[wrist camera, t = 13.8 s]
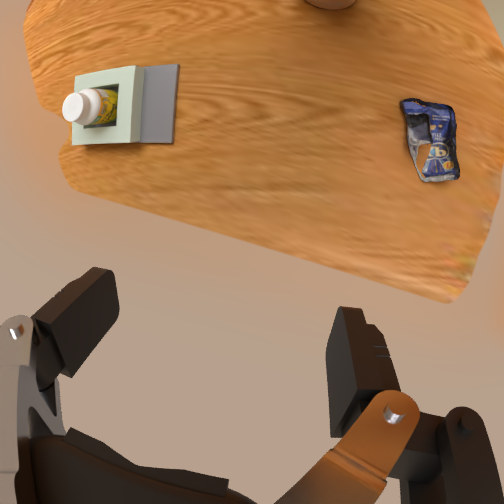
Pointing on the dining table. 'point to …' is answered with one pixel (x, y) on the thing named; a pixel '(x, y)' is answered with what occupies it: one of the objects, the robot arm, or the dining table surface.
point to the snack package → (432, 138)
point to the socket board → (157, 104)
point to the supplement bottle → (91, 106)
